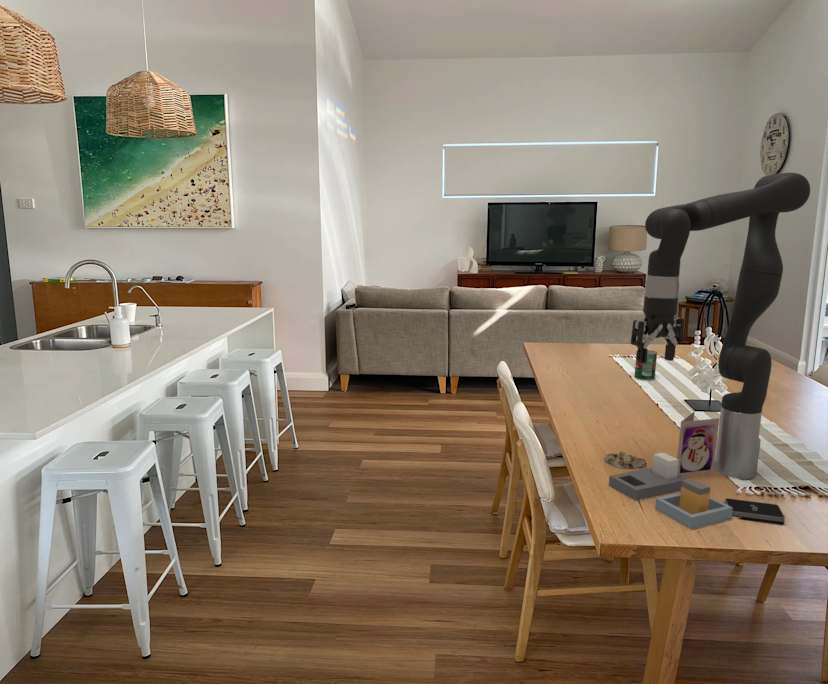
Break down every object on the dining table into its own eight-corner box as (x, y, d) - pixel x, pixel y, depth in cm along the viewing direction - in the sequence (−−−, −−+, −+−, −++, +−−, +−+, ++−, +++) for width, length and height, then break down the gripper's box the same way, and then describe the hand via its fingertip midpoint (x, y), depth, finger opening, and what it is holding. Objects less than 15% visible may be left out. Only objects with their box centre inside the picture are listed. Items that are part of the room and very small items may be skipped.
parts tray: (694, 501, 148) (695, 489, 148) (731, 520, 139) (732, 507, 139) (654, 510, 143) (655, 498, 143) (690, 530, 135) (691, 517, 134)
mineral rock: (602, 461, 167) (606, 443, 173) (601, 474, 169) (605, 456, 175) (646, 468, 163) (648, 450, 170) (644, 482, 165) (647, 463, 172)
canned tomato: (630, 376, 263) (632, 350, 261) (646, 375, 265) (648, 349, 263) (642, 381, 256) (644, 354, 253) (659, 380, 258) (661, 353, 256)
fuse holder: (658, 477, 162) (659, 465, 161) (686, 491, 154) (688, 479, 153) (608, 487, 156) (609, 475, 155) (635, 502, 148) (636, 490, 147)
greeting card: (677, 480, 160) (683, 422, 157) (658, 469, 167) (663, 413, 164) (715, 475, 163) (721, 419, 160) (695, 464, 170) (701, 410, 167)
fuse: (660, 479, 160) (662, 452, 158) (675, 486, 155) (678, 459, 154) (651, 481, 158) (653, 454, 157) (666, 488, 154) (669, 461, 152)
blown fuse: (688, 507, 144) (691, 478, 143) (707, 517, 140) (710, 486, 138) (678, 509, 143) (681, 480, 142) (697, 519, 139) (700, 489, 137)
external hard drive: (784, 526, 138) (785, 518, 137) (727, 519, 141) (728, 510, 140) (776, 512, 144) (778, 504, 144) (722, 505, 147) (723, 497, 147)
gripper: (671, 291, 158) (665, 356, 161) (626, 294, 152) (621, 360, 155) (696, 295, 151) (689, 362, 154) (650, 298, 146) (644, 367, 149)
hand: (655, 361), depth 155 cm, fingers open, 8 cm apart
